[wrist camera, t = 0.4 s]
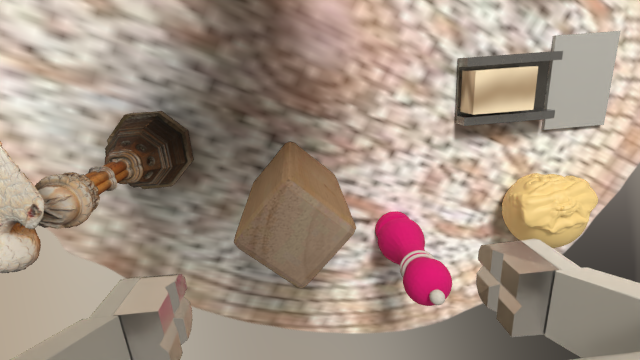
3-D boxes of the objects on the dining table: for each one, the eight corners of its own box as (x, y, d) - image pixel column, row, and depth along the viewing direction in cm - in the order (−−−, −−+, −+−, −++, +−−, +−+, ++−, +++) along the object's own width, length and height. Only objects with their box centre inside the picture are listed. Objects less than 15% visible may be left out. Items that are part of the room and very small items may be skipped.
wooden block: (338, 176, 56) (361, 230, 37) (299, 221, 58) (302, 295, 39) (289, 137, 54) (287, 174, 35) (250, 185, 56) (228, 246, 37)
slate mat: (553, 36, 52) (556, 35, 51) (616, 31, 53) (620, 30, 52) (541, 129, 56) (544, 129, 56) (600, 124, 57) (603, 124, 56)
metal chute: (457, 58, 52) (467, 57, 49) (548, 51, 53) (563, 50, 50) (454, 122, 55) (464, 125, 52) (540, 115, 56) (554, 118, 53)
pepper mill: (369, 246, 60) (405, 326, 41) (375, 207, 58) (415, 273, 39) (410, 247, 61) (463, 328, 42) (417, 209, 59) (476, 275, 40)
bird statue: (62, 145, 51) (-360, 282, 18) (106, 72, 49) (-287, 78, 16) (162, 207, 55) (-33, 413, 22) (208, 143, 53) (66, 267, 20)
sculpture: (553, 156, 58) (609, 175, 48) (559, 219, 62) (612, 249, 51) (487, 177, 58) (528, 200, 48) (497, 238, 62) (537, 272, 52)
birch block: (462, 70, 52) (475, 71, 48) (520, 66, 52) (538, 66, 49) (460, 111, 54) (473, 114, 50) (516, 106, 54) (533, 109, 50)
